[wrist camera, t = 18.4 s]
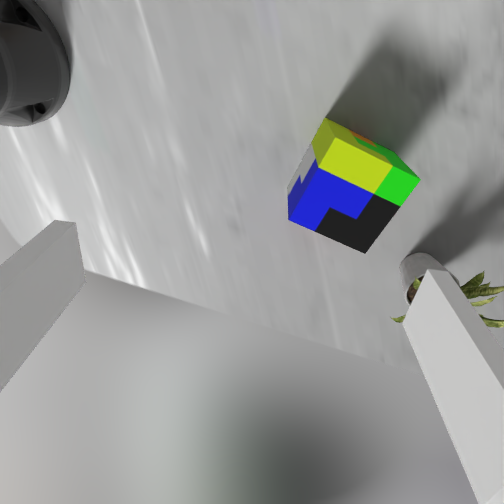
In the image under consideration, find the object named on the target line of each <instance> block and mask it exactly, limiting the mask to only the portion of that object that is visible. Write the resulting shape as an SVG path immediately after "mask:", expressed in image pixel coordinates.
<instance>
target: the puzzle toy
mask: <svg viewBox="0 0 504 504" xmlns="http://www.w3.org/2000/svg"><path fill="white" fill-rule="evenodd" d="M420 180H421V179H420V178H419V177H418V176H417V175H416V174H415V173H414V172H413V171H412V170H411V169H410V168H409V167H408V166H407V165H406V164H405V163H404V162H403V161H402V160H401V159H400V158H399V157H398V156H397V155H396V154H395V152H393V151H391V150H389V149H387V148H385V147H383V146H381V145H379V144H377V143H375V142H373V141H371V140H369V139H367V138H365V137H363V136H361V135H359V134H357V133H355V132H353V131H351V130H349V129H347V128H345V127H343V126H341V125H339V124H337V123H335V122H333V121H331V120H329V119H327V118H324V120H323V122H322V124H321V126H320V127H319V129H318V131H317V133H316V135H315V137H314V139H313V141H312V142H311V144H310V146H309V148H308V150H307V152H306V154H305V156H304V157H303V159H302V161H301V163H300V165H299V167H298V169H297V171H296V172H295V174H294V176H293V178H292V180H291V182H290V184H289V185H288V187H287V190H288V219H289V220H290V221H292V222H294V223H297V224H299V225H301V226H303V227H306V228H308V229H310V230H313V231H315V232H317V233H319V234H322V235H324V236H326V237H328V238H331V239H333V240H335V241H337V242H340V243H342V244H344V245H346V246H349V247H351V248H353V249H355V250H358V251H360V252H362V253H364V254H365V253H366V252H367V251H368V249H369V248H370V247H371V245H372V244H373V243H374V241H375V240H376V239H377V237H378V236H379V235H380V233H381V232H382V231H383V229H384V228H385V227H386V225H387V224H388V223H389V221H390V220H391V219H392V217H393V216H394V215H395V213H396V212H397V211H398V209H399V208H400V207H401V205H402V204H403V203H404V201H405V200H406V199H407V197H408V196H409V195H410V193H411V192H412V191H413V189H414V188H415V187H416V185H417V184H418V183H419V181H420Z"/></svg>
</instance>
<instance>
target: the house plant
mask: <svg viewBox="0 0 504 504" xmlns="http://www.w3.org/2000/svg"><path fill="white" fill-rule="evenodd" d="M399 268H400V274H401V280H402V285H403V291H404V296H405V300H406V302H407V304H408V305H409V306H411V303H412V301H413V299H414V297H415V295H416V293H417V291H418V288H419V286H420V284H421V282H422V280H423V278H424V276H425V273H426V271H427V269H432V270H440V271H448V270H447V269H446V268H445V267H444V266H442V265H441V264H440V263H439V262H438V261H437V260H436V259H434V258H433V257H432V256H431V255H429V254H427V253H414V254H411V255H409V256H408V257H406V258H405V259H404V260H403V261H402V263H401V264H400V267H399ZM448 272H449V271H448ZM449 274H450V275H451V276H452V278H453V279H454V281H455V282H456V283H457V285H458V286H459V288H460V289H461V291H462V292H463V293H464V295H465V296H466V298H467V299H471V298H476V297H478V296H489V295H494V294H498V293H500V292H502V291H504V286H502V287H488V286H489V284H490V282H489V283H488V284H483V285H480V284H481V283H482V281H483V278H484V271H483V273H480V274H478V275H476V276H475V277H474V278H472V279H471V280H470V281H469V282H467V283H466V284H465V285H463V286H461V287H460V284H459V281H458V280H457V278H456V277H455V276H454V275H453V274H452V273H450V272H449ZM479 285H480V286H479ZM496 297H497V296H496ZM494 298H495V297H493V298H490V299H487V300H483V301H479V302H473V303H471V305H472V306H482V305H484V304H487V303H489V302H491V301H493V299H494ZM405 316H406V315H404V316H401V317H398V318H392V319H393V320H394V321H396V322H403V321H404V318H405ZM479 316H480V317H481V319H482V320H483V321H484V323H485V324H486V326H488V327H497V328H499V327H504V320H493V319H488V318H485V317H483V315H480V314H479Z"/></svg>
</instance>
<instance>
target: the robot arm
mask: <svg viewBox="0 0 504 504" xmlns="http://www.w3.org/2000/svg"><path fill="white" fill-rule="evenodd" d="M68 88H69V65H68V60H67V56H66V52H65V49H64V46H63V43H62V41H61V39H60V37H59V35H58V33H57V31H56V29H55V27H54V26H53V24H52V23H51V21H50V20H49V18H48V17H47V16H46V14H45V13H44V12H43V11H42V10H41V8H40V7H39V6H38V5H37V4H36V3H35V2H34V1H33V0H0V125H4V126H12V127H22V126H29V125H33V124H36V123H39V122H42V121H44V120H47V119H48V118H50V117H52V116H53V115H54V114H55V113H56V112H57V111H58V110H59V109H60V108H61V106H62V105H63V103H64V101H65V99H66V96H67V93H68ZM85 283H86V279H85V273H84V267H83V262H82V256H81V250H80V245H79V239H78V233H77V228H76V223H73V222H66V221H58V220H54V221H53V222H52V223H51V224H50V225H48V226H47V227H46V228H45V229H44V230H42V231H41V232H40V233H39V234H38V235H36V236H35V237H34V238H33V239H32V240H30V241H29V242H28V243H27V244H26V245H24V246H23V247H22V248H21V249H20V250H18V251H17V252H16V253H15V254H13V255H12V256H11V257H10V258H9V259H7V260H6V261H5V262H4V263H3V264H1V265H0V392H1V391H2V389H3V388H4V387H5V386H6V384H7V383H8V382H9V380H10V379H11V378H12V377H13V375H14V374H15V373H16V371H17V370H18V369H19V368H20V366H21V365H22V364H23V362H24V361H25V360H26V359H27V357H28V356H29V355H30V353H31V352H32V351H33V350H34V348H35V347H36V346H37V344H38V343H39V342H40V341H41V339H42V338H43V337H44V335H45V334H46V333H47V331H48V330H49V329H50V328H51V327H52V325H53V324H54V323H55V321H56V320H57V319H58V317H59V316H60V315H61V313H62V312H63V311H64V310H65V308H66V307H67V306H68V305H69V303H70V302H71V301H72V299H73V298H74V297H75V296H76V294H77V293H78V292H79V290H80V289H81V288H82V287H83V285H84V284H85ZM402 324H403V326H404V329H405V331H406V333H407V336H408V338H409V340H410V343H411V345H412V347H413V350H414V352H415V354H416V357H417V359H418V362H419V364H420V366H421V369H422V371H423V373H424V376H425V378H426V380H427V383H428V385H429V387H430V390H431V392H432V395H433V397H434V399H435V401H436V404H437V406H438V409H439V411H440V413H441V415H442V418H443V420H444V423H445V425H446V427H447V430H448V432H449V435H450V437H451V439H452V442H453V444H454V446H455V449H456V451H457V453H458V456H459V458H460V460H461V463H462V465H463V468H464V470H465V472H466V475H467V477H468V479H469V482H470V484H471V486H472V488H473V491H474V493H475V496H476V498H477V500H478V503H479V504H504V350H503V348H502V347H501V345H500V344H499V343H498V341H497V340H496V338H495V337H494V336H493V334H492V333H491V331H490V330H489V329H488V327H487V326H486V324H485V323H484V321H483V320H482V319H481V317H480V316H479V314H478V313H477V312H476V310H475V309H474V307H473V306H472V305H471V303H470V302H469V300H468V299H467V298H466V296H465V295H464V293H463V292H462V291H461V289H460V288H459V286H458V285H457V283H456V282H455V281H454V279H453V278H452V276H451V275H450V274H449V272H448V271H440V270H432V269H427V271H426V273H425V276H424V278H423V280H422V282H421V284H420V286H419V288H418V291H417V293H416V295H415V297H414V299H413V301H412V303H411V306H410V308H409V310H408V312H407V314H406V316H405V318H404V321H403V323H402Z"/></svg>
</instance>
